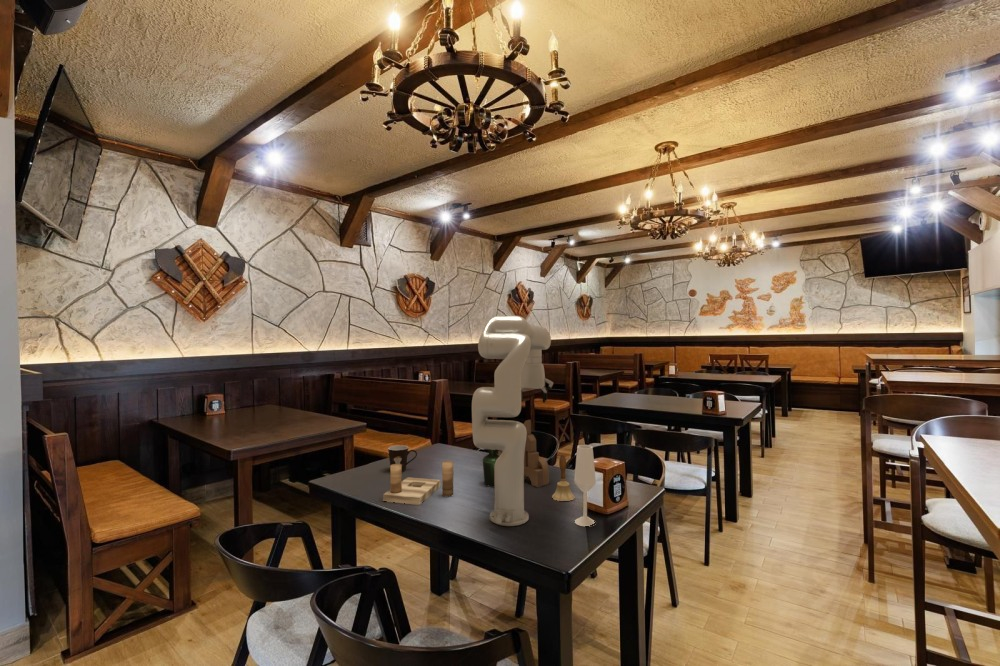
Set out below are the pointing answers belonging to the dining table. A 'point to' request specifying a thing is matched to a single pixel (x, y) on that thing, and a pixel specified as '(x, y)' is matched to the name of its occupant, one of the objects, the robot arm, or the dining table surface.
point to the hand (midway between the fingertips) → (532, 401)
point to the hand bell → (563, 484)
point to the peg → (447, 478)
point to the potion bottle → (490, 467)
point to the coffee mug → (399, 455)
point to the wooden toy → (534, 461)
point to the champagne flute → (584, 478)
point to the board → (409, 488)
